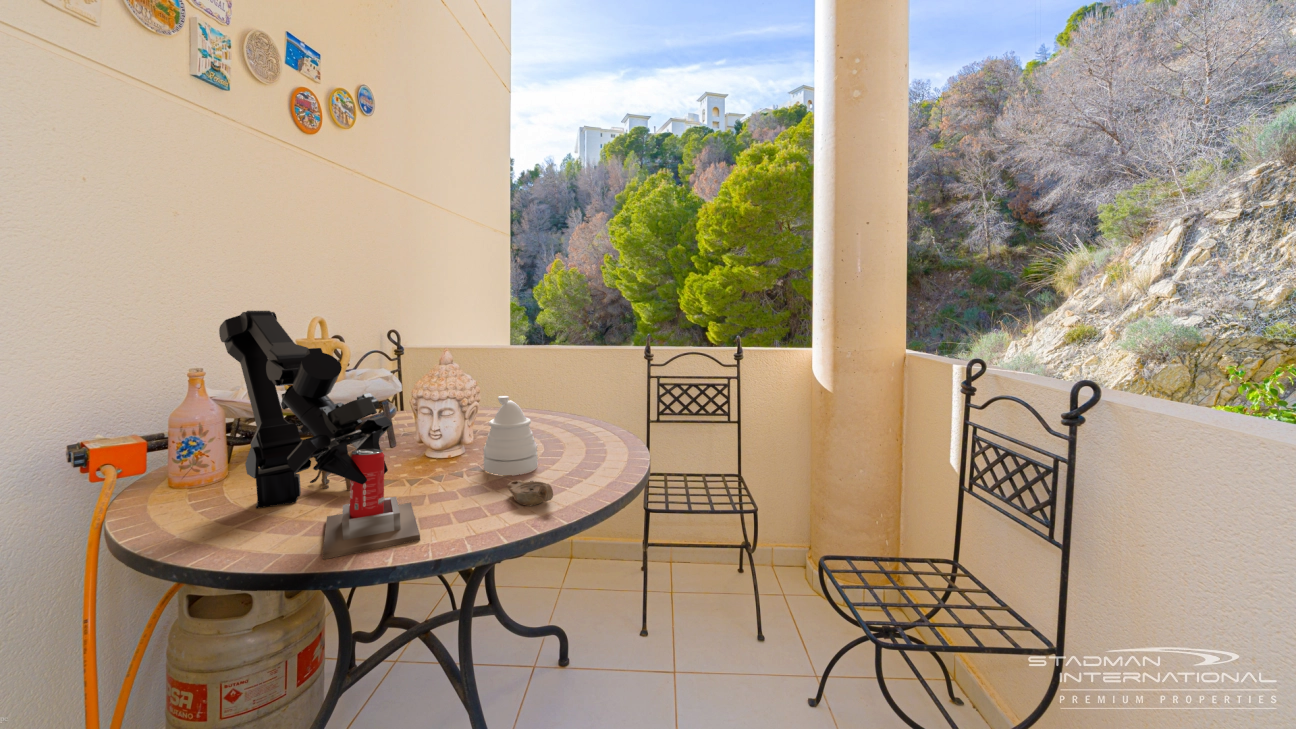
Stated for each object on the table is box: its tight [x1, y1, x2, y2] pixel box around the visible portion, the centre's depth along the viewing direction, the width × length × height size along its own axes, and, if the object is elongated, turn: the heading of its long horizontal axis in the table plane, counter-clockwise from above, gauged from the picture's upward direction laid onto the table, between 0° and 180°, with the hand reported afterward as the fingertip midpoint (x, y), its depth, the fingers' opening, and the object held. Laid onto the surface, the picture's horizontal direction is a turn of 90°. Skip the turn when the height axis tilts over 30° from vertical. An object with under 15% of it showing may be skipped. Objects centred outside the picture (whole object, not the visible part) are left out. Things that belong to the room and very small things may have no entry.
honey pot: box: [483, 395, 539, 476], centre depth 125 cm, size 13×13×18 cm
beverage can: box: [349, 448, 385, 519], centre depth 89 cm, size 5×5×12 cm
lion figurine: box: [309, 448, 357, 492], centre depth 111 cm, size 15×5×9 cm, turn 85°
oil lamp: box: [506, 479, 554, 506], centre depth 104 cm, size 13×8×5 cm, turn 46°
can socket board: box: [322, 496, 421, 560], centre depth 90 cm, size 14×16×4 cm
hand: (375, 477), depth 89 cm, fingers closed on beverage can, 5 cm apart
